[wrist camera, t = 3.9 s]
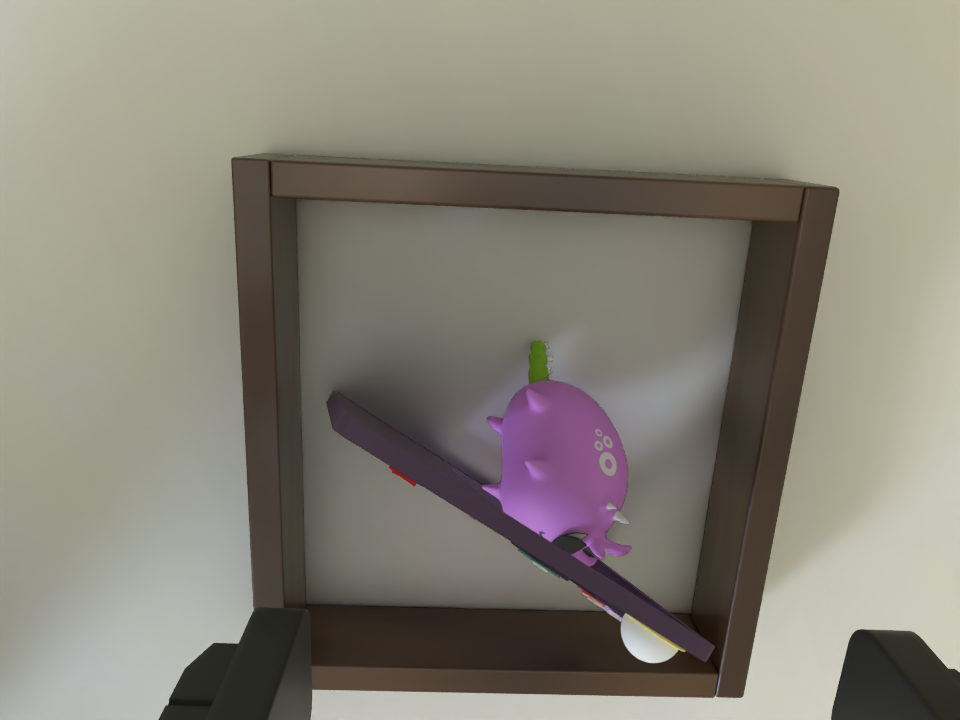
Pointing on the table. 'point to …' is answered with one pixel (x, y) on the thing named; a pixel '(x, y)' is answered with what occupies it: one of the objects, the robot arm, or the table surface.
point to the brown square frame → (520, 633)
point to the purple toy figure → (544, 496)
